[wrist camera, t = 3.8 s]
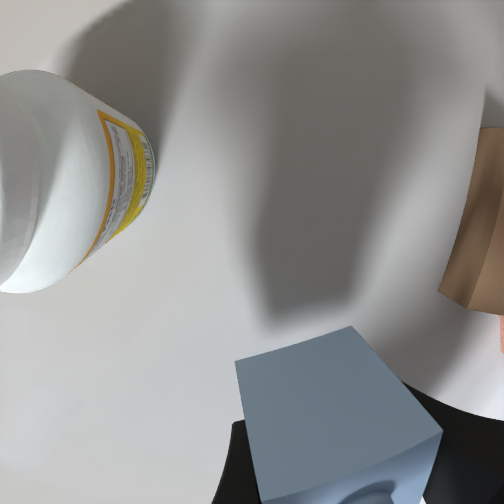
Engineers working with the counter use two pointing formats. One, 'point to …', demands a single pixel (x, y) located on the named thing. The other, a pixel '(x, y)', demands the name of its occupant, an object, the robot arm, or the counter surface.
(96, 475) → the counter surface
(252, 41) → the counter surface
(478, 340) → the counter surface
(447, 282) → the base brick
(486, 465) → the robot arm
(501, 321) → the brick
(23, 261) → the supplement bottle
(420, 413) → the blue brick
